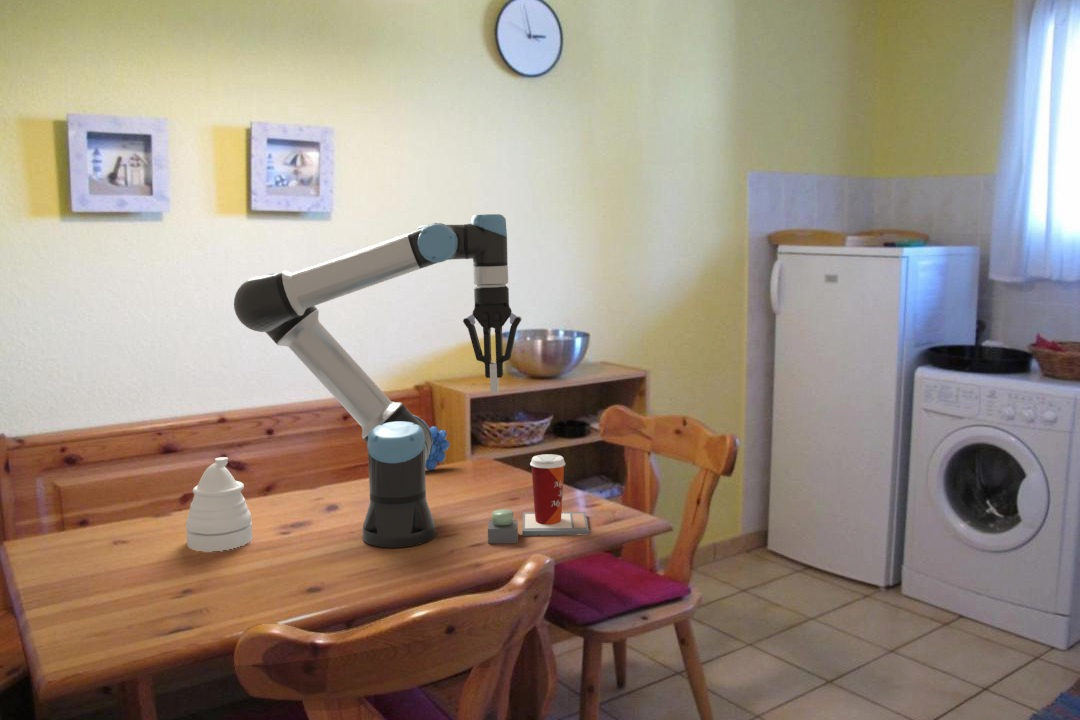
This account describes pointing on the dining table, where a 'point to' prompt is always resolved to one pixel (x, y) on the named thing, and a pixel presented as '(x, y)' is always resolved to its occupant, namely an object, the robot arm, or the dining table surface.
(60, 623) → the dining table surface
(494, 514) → the button
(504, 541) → the button housing
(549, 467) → the paper cup
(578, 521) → the picture board
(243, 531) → the honey pot
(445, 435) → the grapes
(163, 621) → the dining table surface
